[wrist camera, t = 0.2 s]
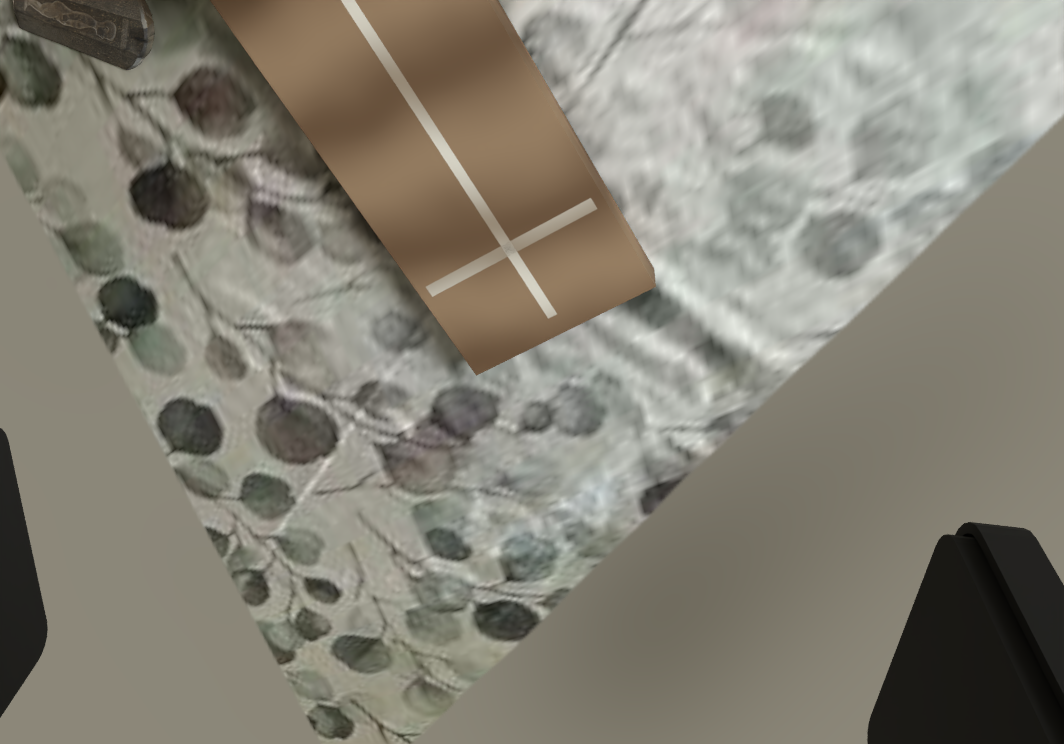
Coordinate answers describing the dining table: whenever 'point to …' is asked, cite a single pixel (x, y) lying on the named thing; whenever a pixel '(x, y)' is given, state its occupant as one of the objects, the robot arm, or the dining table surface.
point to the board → (452, 161)
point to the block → (93, 27)
